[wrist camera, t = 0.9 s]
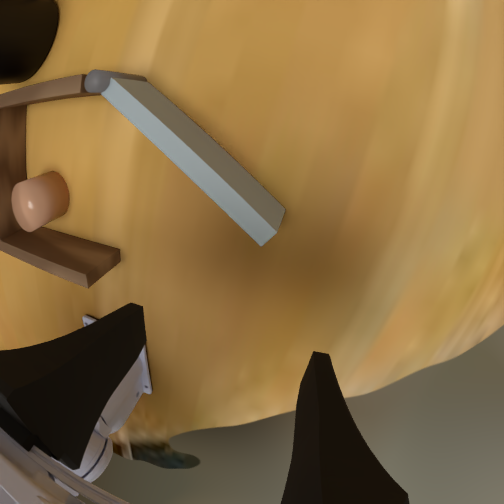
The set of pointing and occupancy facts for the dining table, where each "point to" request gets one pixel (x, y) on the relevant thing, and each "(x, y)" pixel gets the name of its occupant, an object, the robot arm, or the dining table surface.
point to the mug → (25, 37)
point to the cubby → (14, 171)
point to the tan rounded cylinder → (40, 200)
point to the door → (192, 151)
